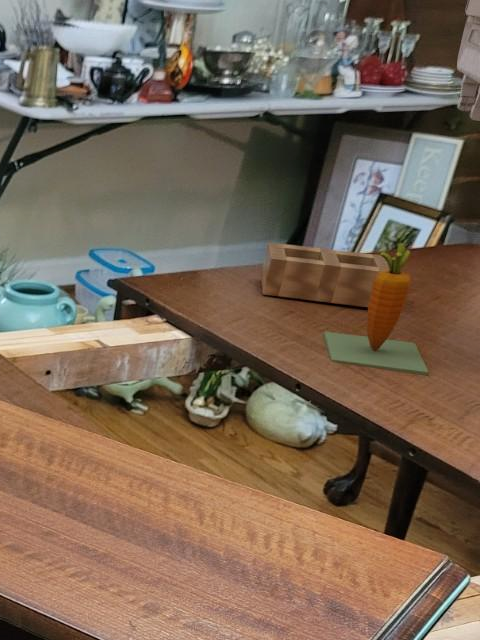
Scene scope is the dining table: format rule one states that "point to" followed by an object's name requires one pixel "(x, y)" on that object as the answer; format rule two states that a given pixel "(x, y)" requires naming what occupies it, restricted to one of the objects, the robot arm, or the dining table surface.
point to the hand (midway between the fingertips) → (469, 115)
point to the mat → (375, 353)
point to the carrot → (387, 298)
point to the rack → (320, 274)
